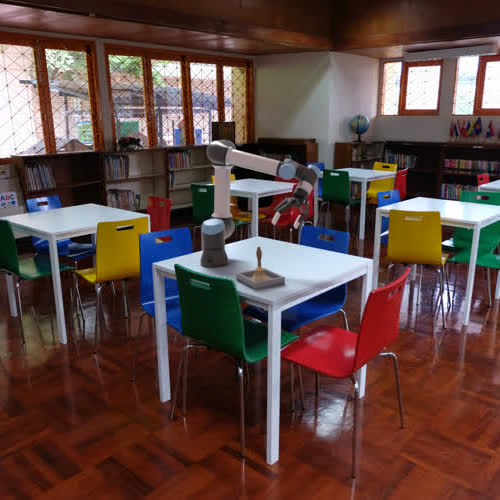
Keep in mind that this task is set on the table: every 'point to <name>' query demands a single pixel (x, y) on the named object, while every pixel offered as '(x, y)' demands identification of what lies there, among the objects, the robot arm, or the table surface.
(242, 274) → the tray
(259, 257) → the hand bell
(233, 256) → the table surface
